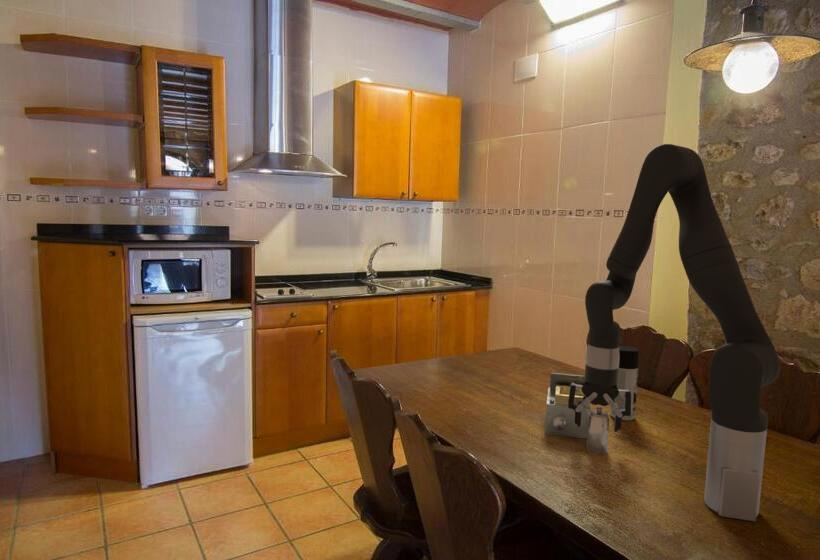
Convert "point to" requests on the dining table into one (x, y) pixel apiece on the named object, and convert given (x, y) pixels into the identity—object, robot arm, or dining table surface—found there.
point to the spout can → (598, 431)
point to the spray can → (627, 378)
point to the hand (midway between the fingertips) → (597, 428)
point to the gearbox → (565, 407)
